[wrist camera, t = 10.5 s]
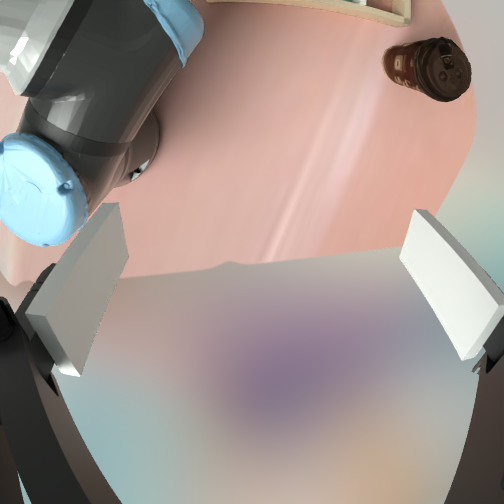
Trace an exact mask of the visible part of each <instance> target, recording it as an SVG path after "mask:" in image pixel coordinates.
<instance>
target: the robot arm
mask: <svg viewBox="0 0 504 504" xmlns="http://www.w3.org/2000/svg"><path fill="white" fill-rule="evenodd" d="M203 35H204V22H203V19H202V17H201V15H200V13H199V12H198V10H197V9H196V8H195V7H194V6H193V5H192V3H191V2H190V1H189V0H0V72H3V73H4V74H5V75H6V76H7V79H8V81H9V83H10V85H11V88H12V90H13V92H14V94H16V95H20V96H26V97H29V99H28V102H27V104H26V107H25V109H24V112H23V115H22V117H21V120H20V123H19V126H18V129H17V131H16V132H15V133H12V134H9V135H7V136H5V137H4V139H2V140H1V142H0V219H1V220H2V221H3V223H4V224H5V225H6V226H7V227H8V228H9V229H10V230H11V231H12V232H13V233H14V234H15V235H17V236H18V237H19V238H21V239H23V240H24V241H26V242H28V243H31V244H33V245H37V246H43V247H47V246H49V245H50V246H57V245H60V244H62V243H64V242H66V241H67V240H68V239H70V238H71V237H72V236H73V235H74V233H75V232H77V231H79V230H80V229H81V228H82V227H83V226H84V225H85V223H86V221H87V218H88V217H89V216H90V215H91V213H92V212H93V211H94V210H95V209H96V207H97V206H98V205H99V204H100V203H101V201H102V200H103V199H104V198H105V197H106V195H107V194H108V193H109V192H110V191H111V190H112V189H113V188H116V187H120V186H123V185H126V184H128V183H130V182H132V181H133V180H135V179H136V178H138V177H139V176H140V175H141V174H142V173H143V172H144V171H145V170H146V168H147V167H148V166H149V165H150V163H151V162H152V160H153V158H154V156H155V154H156V151H157V148H158V144H159V125H158V121H157V118H156V115H155V113H154V111H153V109H152V108H153V106H154V105H155V103H156V102H157V100H158V99H159V97H160V96H161V94H162V93H163V91H164V90H165V89H166V87H167V86H168V84H169V83H170V81H171V80H172V79H173V77H174V76H175V74H176V73H177V72H178V70H179V69H183V68H184V67H185V65H186V62H187V58H188V57H189V56H190V54H191V53H192V51H193V50H194V49H195V47H196V46H197V44H198V43H199V42H200V40H201V39H202V37H203ZM128 258H129V254H128V250H127V245H126V240H125V235H124V230H123V225H122V219H121V214H120V208H119V202H118V203H103V204H102V205H101V206H100V207H99V208H98V210H97V211H96V212H95V213H94V214H93V216H92V217H91V218H90V219H89V221H88V222H87V223H86V225H85V226H84V227H83V228H82V230H81V231H80V232H79V234H78V235H77V236H76V238H75V239H74V240H73V242H72V243H71V244H70V246H69V247H68V248H67V250H66V251H65V253H64V254H63V255H62V257H61V258H60V260H59V261H58V262H57V263H52V264H51V265H50V266H49V267H47V268H46V269H45V270H44V271H43V272H42V273H41V274H40V276H39V277H38V279H37V280H36V283H34V285H33V286H32V288H31V289H30V290H31V291H29V292H28V294H27V295H26V297H25V298H24V300H23V301H22V303H21V305H20V306H19V308H18V310H17V311H16V313H15V314H14V312H13V310H12V308H11V306H10V304H9V303H8V301H7V299H6V298H4V297H0V504H24V501H23V496H22V492H21V487H20V482H19V477H18V473H19V476H20V478H21V481H22V483H23V486H24V488H25V490H26V492H27V495H28V497H29V499H30V501H31V503H32V504H122V503H121V501H120V500H119V499H118V497H117V496H116V494H115V493H114V491H113V490H112V488H111V487H110V485H109V484H108V482H107V480H106V479H105V477H104V476H103V474H102V472H101V471H100V469H99V467H98V466H97V464H96V462H95V461H94V459H93V457H92V455H91V454H90V452H89V450H88V448H87V446H86V444H85V443H84V441H83V439H82V437H81V435H80V433H79V431H78V429H77V427H76V425H75V423H74V421H73V419H72V416H71V414H70V412H69V410H68V408H67V405H66V403H65V401H64V399H63V396H62V394H61V392H60V389H59V386H58V384H57V382H56V379H55V377H54V375H53V374H52V372H51V370H52V367H53V365H54V363H55V364H56V366H57V367H58V368H59V370H60V371H61V373H64V374H68V375H74V376H80V377H81V374H82V371H83V369H84V366H85V363H86V360H87V357H88V354H89V351H90V349H91V346H92V343H93V341H94V338H95V335H96V333H97V330H98V328H99V325H100V322H101V320H102V317H103V314H104V312H105V310H106V307H107V305H108V303H109V300H110V298H111V296H112V293H113V291H114V289H115V286H116V284H117V282H118V280H119V277H120V275H121V273H122V271H123V268H124V266H125V264H126V262H127V260H128ZM399 258H400V260H401V261H402V263H403V264H404V265H405V267H406V268H407V270H408V271H409V273H410V274H411V276H412V277H413V279H414V280H415V282H416V283H417V285H418V287H419V288H420V290H421V291H422V293H423V294H424V296H425V298H426V299H427V300H428V302H429V304H430V306H431V307H432V309H433V310H434V312H435V314H436V315H437V317H438V319H439V320H440V322H441V324H442V325H443V327H444V329H445V331H446V332H447V334H448V336H449V338H450V340H451V341H452V343H453V345H454V347H455V349H456V351H457V352H458V354H459V356H460V358H461V360H466V359H470V358H473V357H475V356H476V355H477V353H478V352H479V351H480V349H481V348H482V347H484V348H485V350H486V352H485V354H484V355H483V356H482V358H481V359H480V360H479V361H478V363H477V364H476V365H475V366H474V368H473V370H472V372H475V371H476V369H477V368H478V367H481V368H480V370H479V372H478V373H477V374H478V375H479V382H478V388H477V394H476V399H475V404H474V409H473V414H472V418H471V423H470V426H469V431H468V434H467V438H466V442H465V445H464V449H463V452H462V456H461V459H460V462H459V465H458V468H457V471H456V474H455V477H454V480H453V482H452V485H451V488H450V490H449V493H448V495H447V498H446V500H445V503H444V504H504V294H503V292H502V291H501V290H500V288H499V287H498V286H497V285H496V283H495V282H494V281H493V280H492V279H491V277H490V276H489V275H488V274H487V273H486V271H485V270H484V269H483V268H482V267H481V266H480V265H479V264H478V263H477V262H476V261H475V259H474V258H473V257H472V256H471V255H470V254H469V253H468V252H467V250H466V249H465V248H464V247H463V246H462V245H461V244H460V243H459V242H458V241H457V240H456V239H455V238H454V237H453V236H452V235H451V233H450V232H449V231H448V230H446V228H445V227H444V226H443V225H442V224H441V223H440V222H439V221H438V220H437V219H436V218H435V217H434V216H433V215H432V214H430V213H429V212H428V211H427V210H422V209H414V212H413V215H412V219H411V222H410V225H409V229H408V232H407V235H406V238H405V241H404V245H403V248H402V251H401V254H400V257H399Z"/></svg>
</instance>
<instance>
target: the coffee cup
mask: <svg viewBox="0 0 504 504" xmlns="http://www.w3.org/2000/svg"><path fill="white" fill-rule="evenodd" d="M382 67H383V70H384V72H385V73H386V75H387V76H388V77H389V78H390V79H391V80H392V81H393V82H395V83H396V84H399V85H402V86H406V87H408V88H412V89H415V90H417V91H420V92H422V93H425V94H426V95H427V96H429V97H431V98H432V99H435V100H437V101H441V102H449V101H453V100H455V99H457V98H459V97H460V96H461V94H463V93H465V92H466V90H467V89H468V88H469V86H470V82H471V74H472V73H471V65H470V63H469V62H468V58H467V57H466V56H465V53H463V52H462V51H461V49H460V48H459V47H458V46H457V45H456V44H455V43H454V42H453V41H452V40H451V39H450V40H449V39H446V38H444V37H440V38H438V39H437V38H431V39H428V40H423V41H418V42H413V43H405V44H403V46H396V47H391V48H390V49H388V50H386V51H385V53H384V56H383V58H382Z"/></svg>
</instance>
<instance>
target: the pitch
mask: <svg viewBox="0 0 504 504" xmlns="http://www.w3.org/2000/svg"><path fill="white" fill-rule="evenodd" d="M206 2H254V3H271V4H283V5H292V6H301V7H308V8H315V9H321V10H327V11H333V12H338V13H343V14H348V15H352V16H357V17H361V18H365V19H369V20H373V21H377V22H380V23H384V24H387V25H391V26H394V27H403V26H410V19H411V0H392V13H389V12H386V11H383V10H379V9H376V8H372V7H369V6H365V5H366V0H206Z"/></svg>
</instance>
